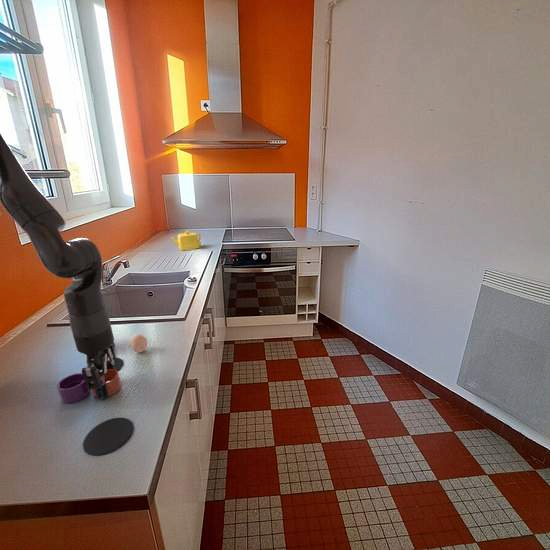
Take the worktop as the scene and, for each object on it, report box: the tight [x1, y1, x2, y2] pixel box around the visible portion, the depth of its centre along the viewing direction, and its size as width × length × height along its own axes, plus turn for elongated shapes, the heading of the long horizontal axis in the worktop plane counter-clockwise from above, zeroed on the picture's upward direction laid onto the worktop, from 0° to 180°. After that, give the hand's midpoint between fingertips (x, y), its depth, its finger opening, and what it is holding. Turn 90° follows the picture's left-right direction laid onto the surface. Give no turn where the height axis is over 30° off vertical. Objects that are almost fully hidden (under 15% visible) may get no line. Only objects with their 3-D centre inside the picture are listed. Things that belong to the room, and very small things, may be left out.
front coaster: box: [82, 417, 134, 457], centre depth 61 cm, size 9×9×1 cm
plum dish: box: [56, 372, 91, 404], centre depth 72 cm, size 6×6×4 cm
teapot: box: [171, 230, 202, 251], centre depth 209 cm, size 20×12×12 cm, turn 115°
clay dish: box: [91, 369, 122, 398], centre depth 73 cm, size 6×6×4 cm
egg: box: [130, 333, 148, 354], centre depth 89 cm, size 4×4×6 cm
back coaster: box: [97, 356, 124, 372], centre depth 82 cm, size 9×9×1 cm
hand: (107, 387), depth 74 cm, fingers closed on clay dish, 6 cm apart
